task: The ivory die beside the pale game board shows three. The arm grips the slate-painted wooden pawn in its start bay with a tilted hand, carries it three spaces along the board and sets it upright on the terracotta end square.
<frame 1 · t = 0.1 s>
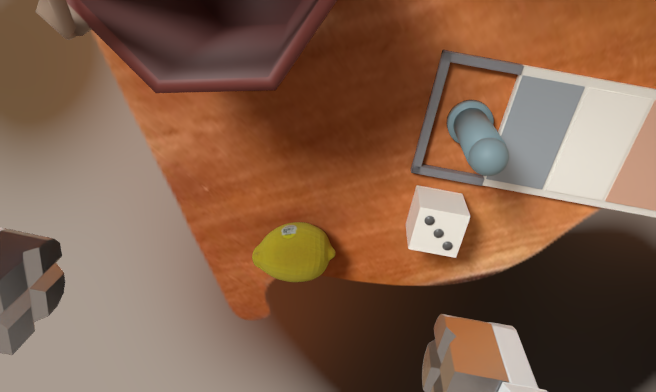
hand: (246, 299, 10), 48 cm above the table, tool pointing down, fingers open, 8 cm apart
pawn: (468, 121, 57), resting in game board
lemon: (299, 235, 66), on the table
game board: (561, 138, 56), on the table
die: (433, 209, 62), on the table
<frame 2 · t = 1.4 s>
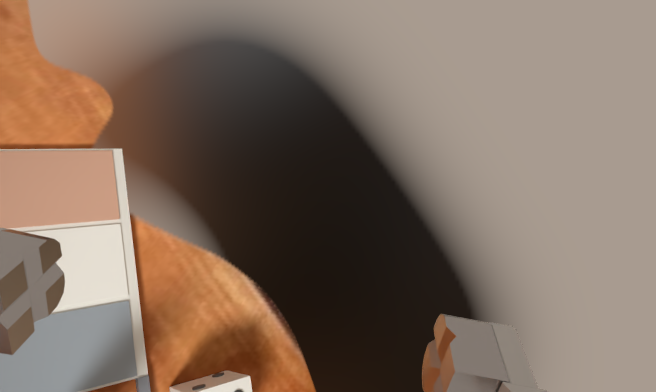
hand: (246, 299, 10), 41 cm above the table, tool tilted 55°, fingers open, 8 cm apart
game board: (49, 311, 42), on the table
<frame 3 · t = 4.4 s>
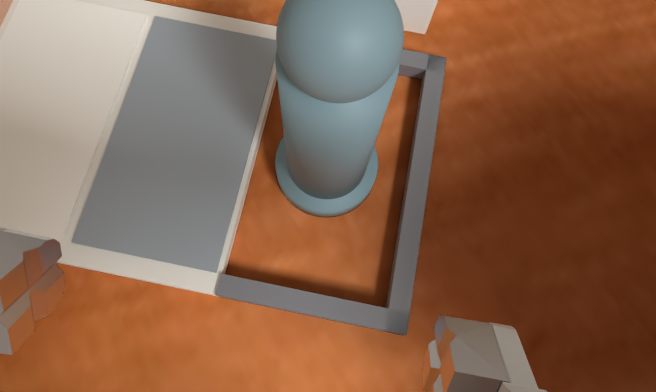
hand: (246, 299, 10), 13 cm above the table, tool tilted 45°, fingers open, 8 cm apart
pawn: (326, 169, 25), resting in game board
game board: (119, 127, 25), on the table
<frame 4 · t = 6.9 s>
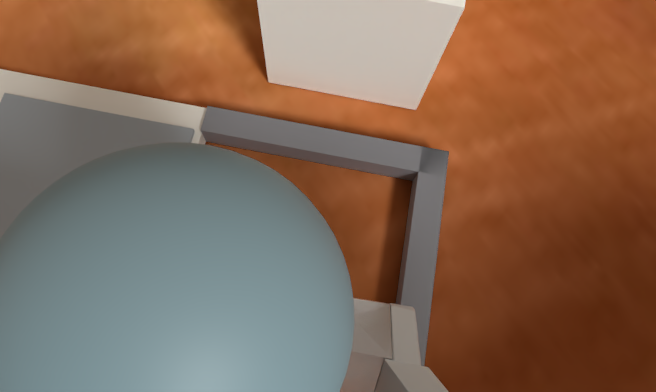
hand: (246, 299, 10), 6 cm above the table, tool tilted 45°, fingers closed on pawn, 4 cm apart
pawn: (264, 334, 16), resting in game board, touching gripper
die: (354, 33, 20), on the table
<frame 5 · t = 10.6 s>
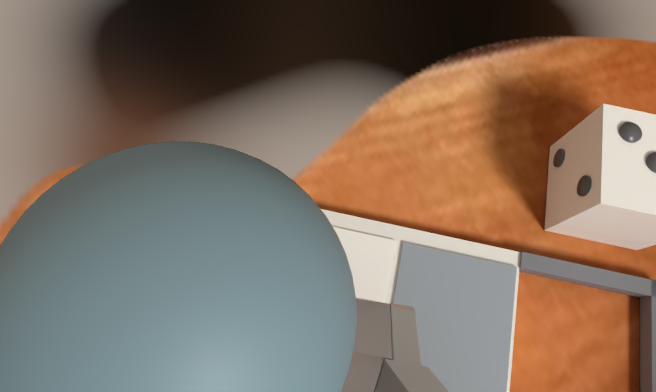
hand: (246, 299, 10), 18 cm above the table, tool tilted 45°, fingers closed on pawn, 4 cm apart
pawn: (266, 334, 16), point 12 cm above the table, touching gripper
game board: (378, 351, 28), on the table
die: (591, 196, 31), on the table
when the fingers open (9 cm above the table, at t = 14.3 s): pawn drops 1 cm, resting on game board.
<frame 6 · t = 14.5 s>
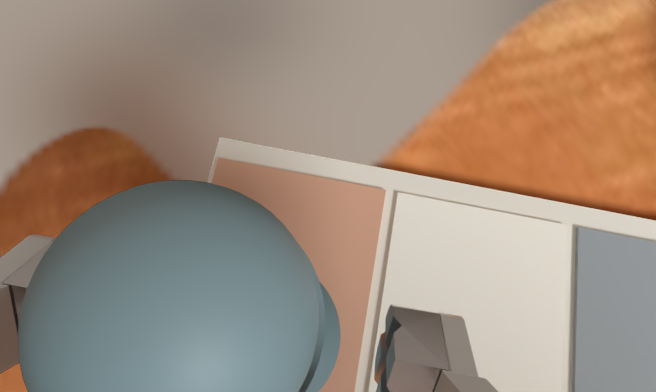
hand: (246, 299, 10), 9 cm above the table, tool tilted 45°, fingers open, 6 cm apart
pawn: (268, 335, 17), point 1 cm above the table, touching game board
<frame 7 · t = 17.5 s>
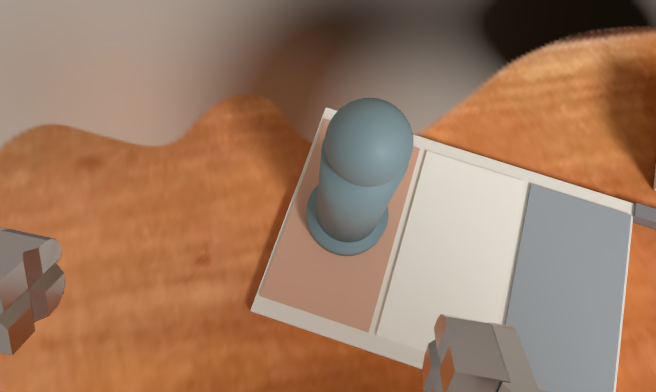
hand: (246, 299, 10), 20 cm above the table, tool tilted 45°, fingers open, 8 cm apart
pawn: (346, 216, 31), point 1 cm above the table, touching game board
game board: (505, 274, 31), on the table
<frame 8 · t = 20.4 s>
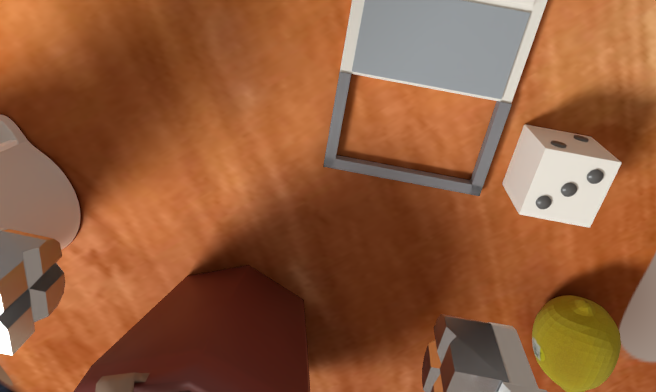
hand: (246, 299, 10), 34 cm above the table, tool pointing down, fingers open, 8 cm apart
bucket: (237, 323, 56), on the table
lemon: (558, 315, 51), on the table
die: (545, 160, 43), on the table
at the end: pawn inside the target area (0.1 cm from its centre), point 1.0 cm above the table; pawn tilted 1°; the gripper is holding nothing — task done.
